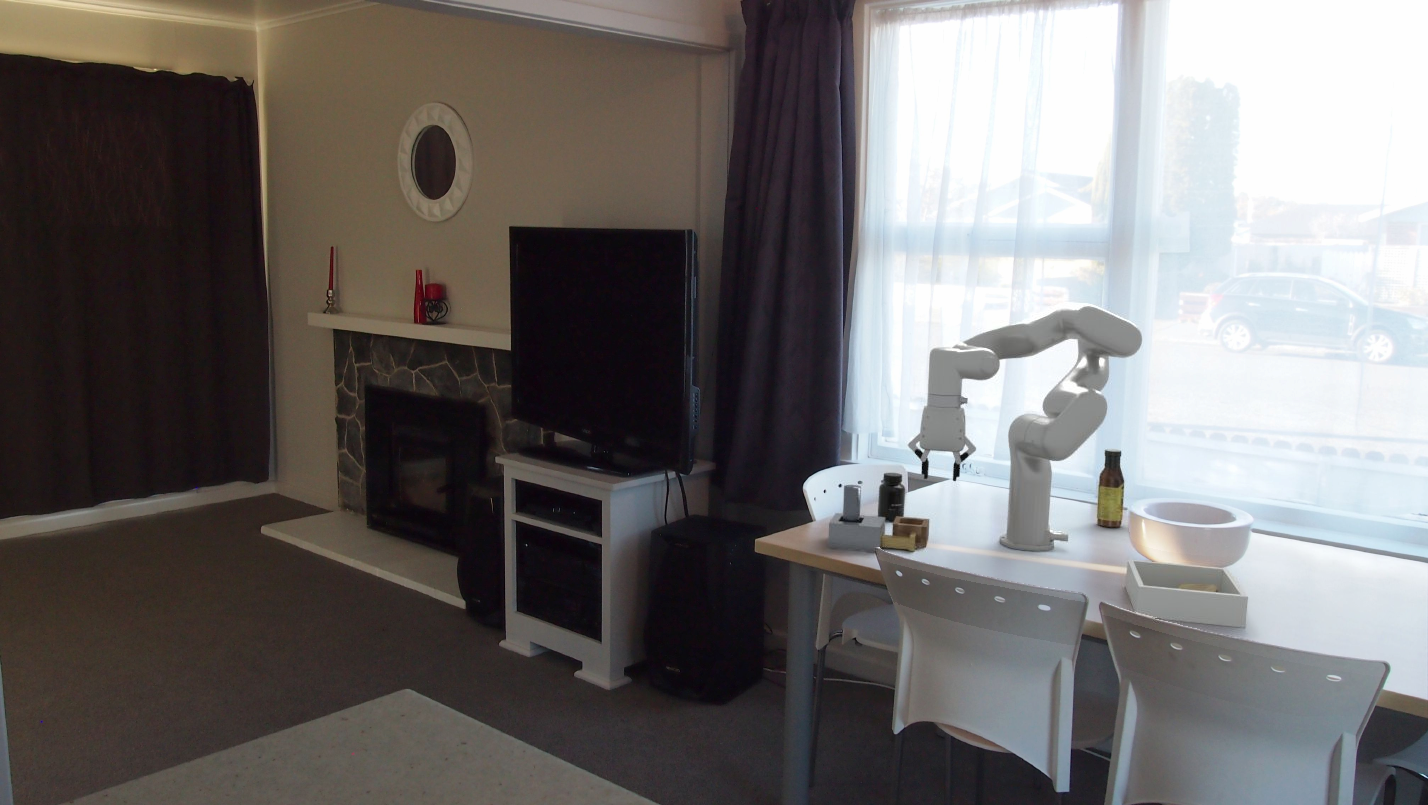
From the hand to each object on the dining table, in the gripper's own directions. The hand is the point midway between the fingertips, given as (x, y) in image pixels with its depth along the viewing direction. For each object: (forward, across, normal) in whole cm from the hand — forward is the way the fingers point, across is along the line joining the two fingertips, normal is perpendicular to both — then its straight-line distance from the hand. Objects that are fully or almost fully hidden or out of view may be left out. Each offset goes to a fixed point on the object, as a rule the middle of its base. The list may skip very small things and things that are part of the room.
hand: (940, 478), depth 235 cm
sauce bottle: (+18, -41, -41) cm, 61 cm away
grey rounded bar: (+18, +20, 0) cm, 27 cm away
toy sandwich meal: (+18, -49, +22) cm, 57 cm away
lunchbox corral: (+18, -49, +23) cm, 57 cm away
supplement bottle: (+18, +14, -28) cm, 36 cm away
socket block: (+18, +19, 0) cm, 26 cm away
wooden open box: (+18, +7, -7) cm, 20 cm away
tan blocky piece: (+17, +10, 0) cm, 20 cm away
